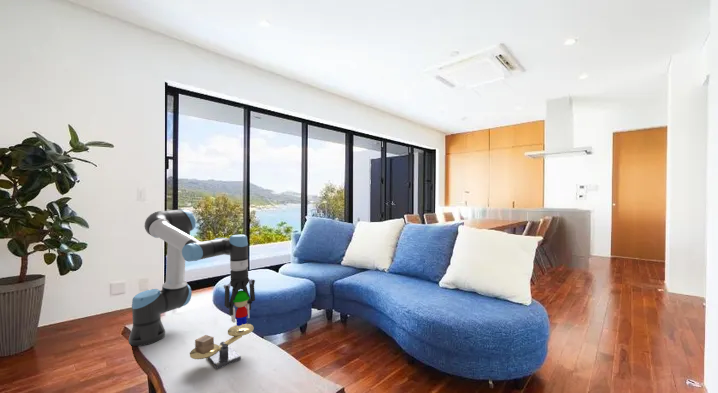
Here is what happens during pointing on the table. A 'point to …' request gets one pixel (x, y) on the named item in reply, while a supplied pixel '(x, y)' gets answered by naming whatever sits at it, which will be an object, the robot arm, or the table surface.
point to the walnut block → (204, 344)
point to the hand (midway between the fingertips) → (240, 319)
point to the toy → (241, 307)
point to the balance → (225, 348)
